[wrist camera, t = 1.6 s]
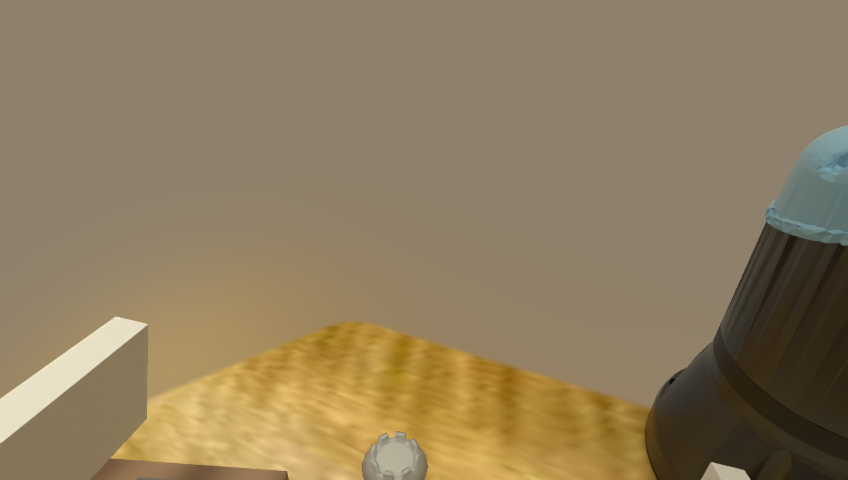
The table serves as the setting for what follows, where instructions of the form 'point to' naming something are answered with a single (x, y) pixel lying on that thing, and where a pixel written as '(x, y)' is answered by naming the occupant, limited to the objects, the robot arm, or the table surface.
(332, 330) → the table surface
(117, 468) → the socket board
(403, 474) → the rook chess piece
